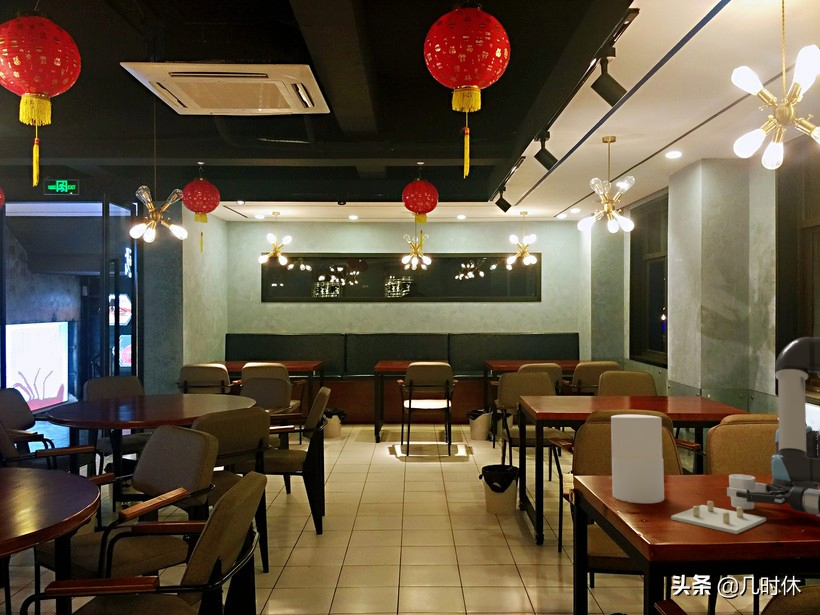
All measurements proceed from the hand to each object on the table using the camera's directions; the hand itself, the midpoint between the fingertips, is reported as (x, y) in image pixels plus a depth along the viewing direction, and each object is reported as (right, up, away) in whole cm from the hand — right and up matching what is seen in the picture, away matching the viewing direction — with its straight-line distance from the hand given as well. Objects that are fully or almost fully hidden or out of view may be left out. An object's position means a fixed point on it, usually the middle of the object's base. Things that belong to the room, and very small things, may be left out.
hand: (736, 488), depth 220 cm
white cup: (+1, -6, -1) cm, 6 cm away
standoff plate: (-14, -5, -16) cm, 22 cm away
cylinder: (-28, -7, +13) cm, 32 cm away
